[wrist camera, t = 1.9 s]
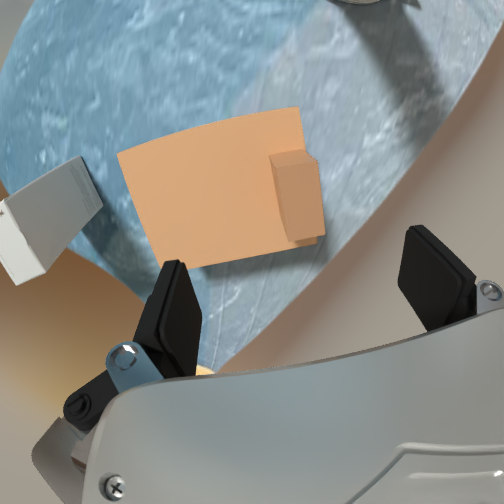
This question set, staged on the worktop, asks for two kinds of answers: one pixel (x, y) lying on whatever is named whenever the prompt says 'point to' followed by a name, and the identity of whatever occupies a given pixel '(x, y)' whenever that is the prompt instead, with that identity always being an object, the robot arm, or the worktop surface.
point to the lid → (227, 189)
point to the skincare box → (45, 219)
